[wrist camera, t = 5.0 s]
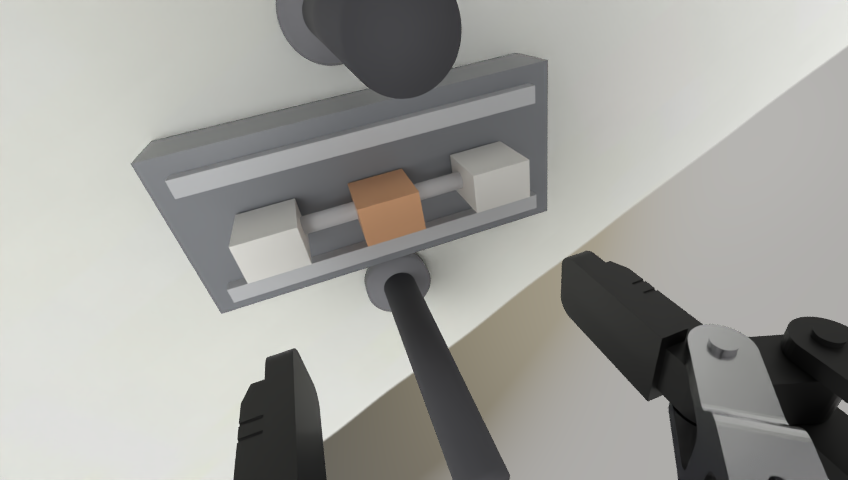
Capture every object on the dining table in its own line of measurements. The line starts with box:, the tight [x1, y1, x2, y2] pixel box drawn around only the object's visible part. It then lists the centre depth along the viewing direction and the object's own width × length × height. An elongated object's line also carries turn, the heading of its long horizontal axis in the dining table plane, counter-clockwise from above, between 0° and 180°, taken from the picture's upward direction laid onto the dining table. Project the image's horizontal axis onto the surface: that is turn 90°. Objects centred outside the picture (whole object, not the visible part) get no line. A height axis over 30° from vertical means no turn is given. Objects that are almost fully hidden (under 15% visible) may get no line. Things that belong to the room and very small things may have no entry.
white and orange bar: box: [229, 141, 530, 284], centre depth 18 cm, size 13×2×3 cm, turn 100°
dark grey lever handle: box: [365, 253, 510, 480], centre depth 20 cm, size 4×4×14 cm
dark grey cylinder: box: [276, 0, 461, 99], centre depth 12 cm, size 4×4×14 cm
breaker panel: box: [131, 53, 548, 314], centre depth 20 cm, size 18×8×4 cm, turn 100°
